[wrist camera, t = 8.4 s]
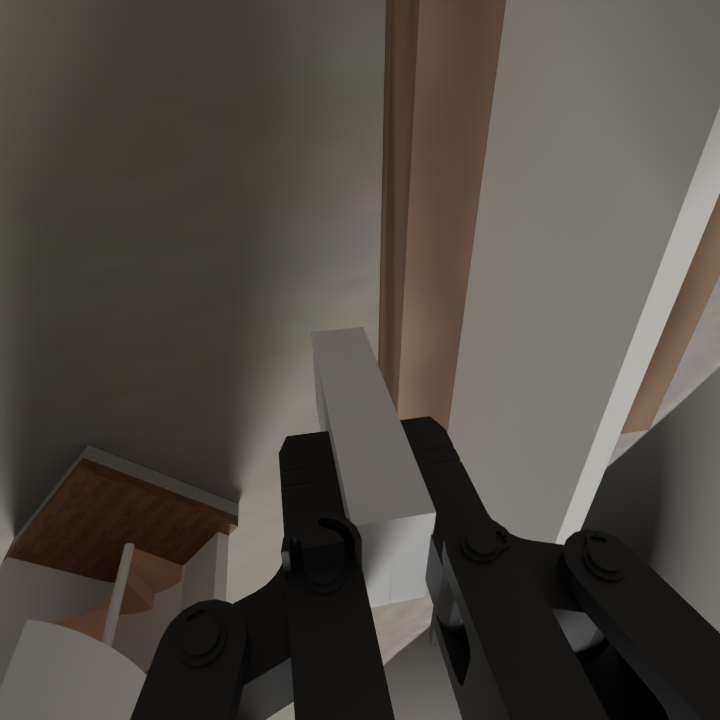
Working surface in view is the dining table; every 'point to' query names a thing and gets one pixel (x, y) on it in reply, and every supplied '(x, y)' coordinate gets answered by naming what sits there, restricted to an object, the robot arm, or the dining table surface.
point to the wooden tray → (464, 207)
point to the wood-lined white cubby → (103, 586)
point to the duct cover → (580, 241)
